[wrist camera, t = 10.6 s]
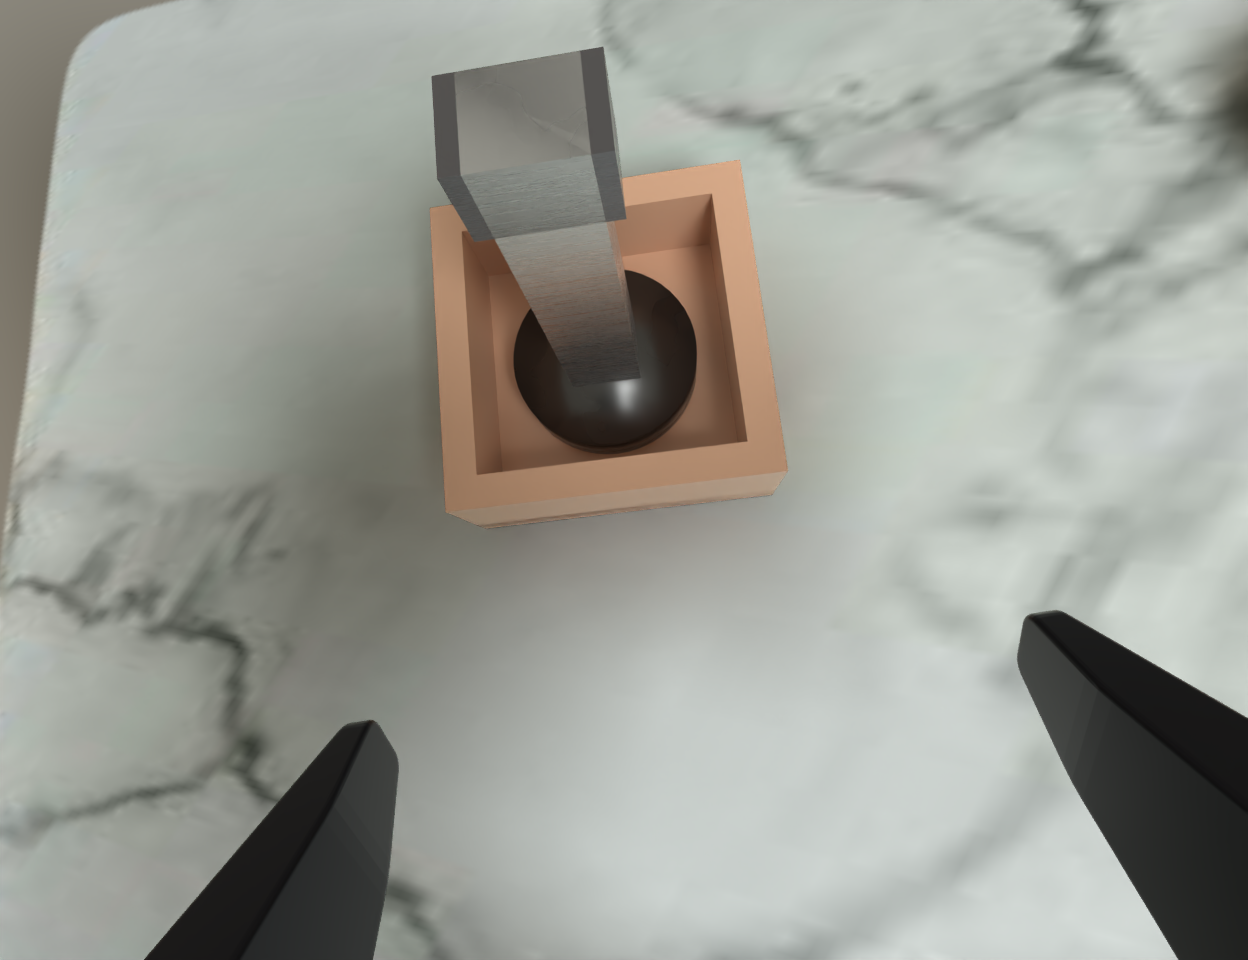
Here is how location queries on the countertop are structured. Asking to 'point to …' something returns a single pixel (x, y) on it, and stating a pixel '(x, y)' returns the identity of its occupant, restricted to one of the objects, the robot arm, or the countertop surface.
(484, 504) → the peach square open box
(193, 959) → the robot arm
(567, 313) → the grey stamp
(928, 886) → the countertop surface
